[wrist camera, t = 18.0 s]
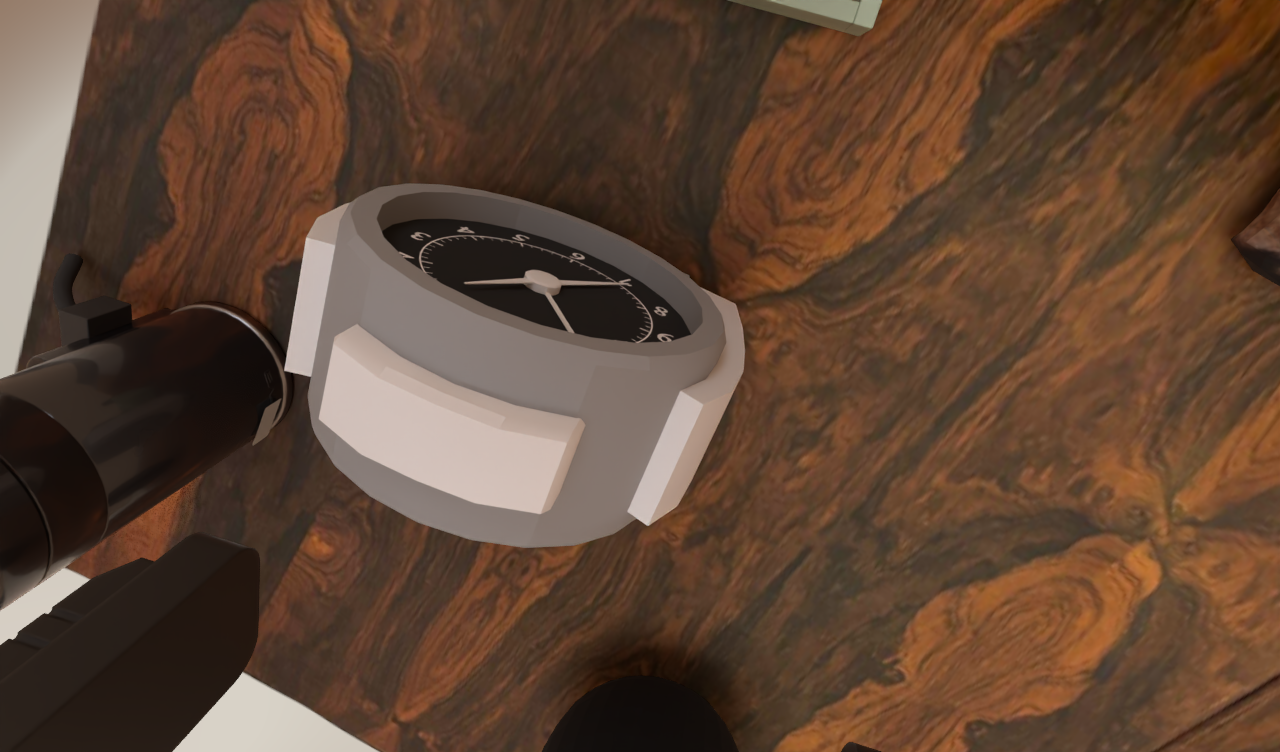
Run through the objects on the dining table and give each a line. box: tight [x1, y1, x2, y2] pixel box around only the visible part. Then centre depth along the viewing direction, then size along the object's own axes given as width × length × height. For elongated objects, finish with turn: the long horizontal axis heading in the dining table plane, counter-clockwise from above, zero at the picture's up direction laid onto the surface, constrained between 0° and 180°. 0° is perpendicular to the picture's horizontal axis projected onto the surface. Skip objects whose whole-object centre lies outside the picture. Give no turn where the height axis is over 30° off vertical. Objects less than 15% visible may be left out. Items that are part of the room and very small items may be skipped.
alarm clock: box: [284, 183, 745, 548], centre depth 32 cm, size 18×8×20 cm, turn 70°
